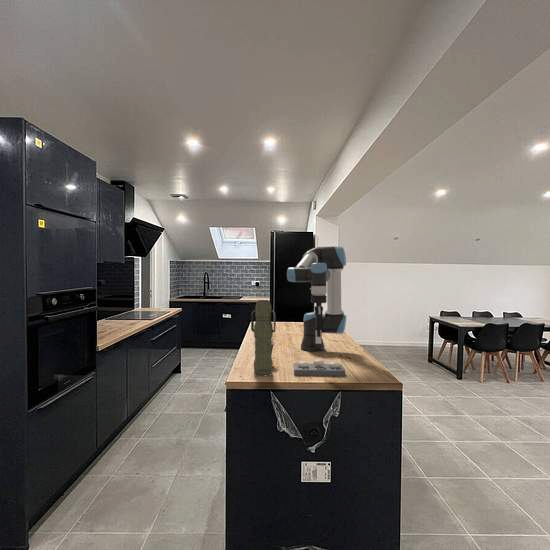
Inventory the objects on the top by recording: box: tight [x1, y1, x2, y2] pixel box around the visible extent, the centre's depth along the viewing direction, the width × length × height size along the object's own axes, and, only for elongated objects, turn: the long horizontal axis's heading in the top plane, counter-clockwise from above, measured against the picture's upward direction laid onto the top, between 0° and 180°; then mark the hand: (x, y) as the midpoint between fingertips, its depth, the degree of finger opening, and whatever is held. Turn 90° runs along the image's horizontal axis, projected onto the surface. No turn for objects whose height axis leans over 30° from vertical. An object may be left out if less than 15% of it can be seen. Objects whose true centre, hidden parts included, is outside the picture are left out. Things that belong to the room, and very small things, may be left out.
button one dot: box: [328, 361, 340, 368], centre depth 174 cm, size 5×5×4 cm
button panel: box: [293, 363, 346, 377], centre depth 174 cm, size 12×24×3 cm, turn 87°
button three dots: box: [313, 358, 325, 368], centre depth 174 cm, size 5×5×4 cm
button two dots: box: [297, 360, 309, 368], centre depth 175 cm, size 5×5×4 cm
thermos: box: [250, 299, 277, 376], centre depth 171 cm, size 9×12×35 cm
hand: (318, 343), depth 174 cm, fingers closed
